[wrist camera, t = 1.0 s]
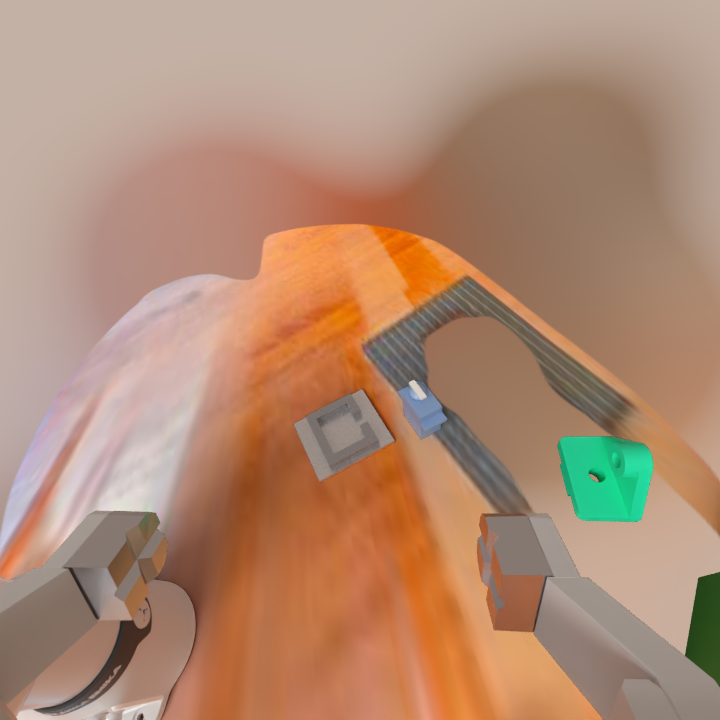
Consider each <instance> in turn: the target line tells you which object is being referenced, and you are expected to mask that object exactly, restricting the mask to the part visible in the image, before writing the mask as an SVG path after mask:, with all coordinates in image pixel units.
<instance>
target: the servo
mask: <svg viewBox="0 0 720 720" xmlns="http://www.w3.org/2000/svg"><path fill="white" fill-rule="evenodd" d="M409 385H410V386H408V387H406V388H404V389H402V390H400V391H398V394H399V395H400V397H401V398H402V400H403V411H404V416H405V418H406V419H407V421H408V422H409V423H410V425H411V426H412V428H413V429H414V431H415V432H416V434H417V435H418V437H419V438H420V440H421V439H423V438H425V437H427V436H429V435H431V434H432V433H434V432H436V431H438V430H440V429H441V424H442V423H444V422H446V421H447V418H446V417H445V415H444V414H443V413H442V406H441V404H440V403H439V402H438V401H437V399H436V398H435V397H434V395H433V394H432V393H431V391H430V390H429V389H428V388H427V386H426V385H425V384H424V382H422V383H420V382H419V381H417V382H416V381H415V380H413V381H411V382H409Z"/></svg>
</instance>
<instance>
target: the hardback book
mask: <svg viewBox="0 0 720 720" xmlns="http://www.w3.org/2000/svg"><path fill="white" fill-rule="evenodd" d="M685 657H687V658H688V659H689V660H690V661H692V662H693V663H694V664H695V665H697V666H698V667H699V668H700V669H702V670H703V671H704V672H705V673H706V674H708V675H709V676H710V677H711V678H713V679H714V680H715V681H716V683H717V684H718V686H719V687H720V572H718V573H715V574H711V575H707V576H703V577H699V578H698V583H697V589H696V595H695V601H694V607H693V612H692V618H691V624H690V630H689V636H688V642H687V647H686V653H685Z"/></svg>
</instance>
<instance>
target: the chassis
mask: <svg viewBox="0 0 720 720" xmlns="http://www.w3.org/2000/svg"><path fill="white" fill-rule="evenodd" d="M305 417H306V418H304V419H302V420H300V421H298V422H296V423H294V426H295V429H296V431H297V433H298V435H299V437H300V440H301V442H302V444H303V446H304V449H305V451H306V453H307V455H308V457H309V460H310V462H311V464H312V466H313V468H314V471H315V473H316V475H317V477H318V479H319V482H320V483H322V482H323V481H325V480H327V479H329V478H331V477H333V476H334V475H336V474H338V473H340V472H342V471H344V470H346V469H347V468H349V467H351V466H353V465H355V464H357V463H358V462H360V461H362V460H364V459H366V458H368V457H369V456H371V455H373V454H375V453H377V452H379V451H380V450H382V449H384V448H386V447H388V446H390V445H392V444H393V443H395V440H394V439H393V437H392V436H391V434H390V432H389V431H388V429H387V428H386V426H385V425H384V423H383V421H382V420H381V418H380V417H379V415H378V413H377V412H376V410H375V409H374V407H373V405H372V404H371V402H370V401H369V399H368V398H367V396H366V394H365V393H364V391H363V390H360V391H358V392H356V393H354V394H352V395H351V393H350V394H348V395H346V396H344V397H342V398H340V399H338V400H336V401H334V402H332V403H330V404H328V405H326V406H324V407H322V408H320V409H319V410H317V411H315V412H313V413H311V414H309V415H307V416H305Z"/></svg>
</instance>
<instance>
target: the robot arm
mask: <svg viewBox="0 0 720 720" xmlns="http://www.w3.org/2000/svg"><path fill="white" fill-rule="evenodd" d="M159 524H160V521H159V519H158V517H157V514H156V513H152V512H130V511H94V512H93V513H91V514H89V515H88V516H87V517H86V518H85V519H84V520H83V521H82V522H81V523H80V525H79V526H78V527H77V528H76V529H75V530H74V531H73V532H72V534H71V535H70V536H69V537H68V538H67V539H66V540H65V541H64V543H63V544H62V545H61V546H60V547H59V548H58V549H57V551H56V552H55V553H54V554H53V555H52V556H51V557H50V558H49V560H48V561H47V562H46V563H45V564H44V565H43V566H42V567H41V568H34V569H32V570H31V571H29V572H27V573H24V574H21V575H19V576H17V577H15V578H13V579H11V580H9V579H5V578H2V577H0V720H140V717H141V715H142V714H143V715H144V718H143V720H160V719H161V717H162V715H163V712H164V710H165V707H166V703H167V700H168V697H169V693H170V691H171V689H172V687H173V686H174V684H175V682H176V681H177V679H178V678H179V676H180V674H181V673H182V671H183V669H184V667H185V665H186V663H187V661H188V658H189V656H190V653H191V650H192V646H193V642H194V637H195V628H196V620H195V612H194V608H193V604H192V602H191V600H190V598H189V596H188V595H187V593H186V592H185V591H184V590H183V589H182V588H181V587H180V586H178V585H176V584H174V583H172V582H168V581H161V580H156V579H154V578H155V577H157V576H158V575H159V573H160V571H161V569H162V568H163V566H164V564H165V560H166V556H167V552H168V546H167V540H166V537H165V535H164V534H163V533H161V532H160V531H159V530H158V529H157V527H158V526H159ZM479 526H480V530H481V533H482V535H481V536H480V537H479V538H478V543H477V557H478V565H479V571H480V576H481V580H482V582H483V583H484V584H485V585H486V586H487V587H488V591H487V599H486V600H487V604H488V608H489V612H490V616H491V620H492V624H493V628H494V630H501V631H518V632H534V635H535V637H536V638H537V639H538V640H539V642H540V643H541V644H542V645H543V646H544V648H545V649H546V650H547V651H548V653H549V654H550V655H551V656H552V657H553V659H554V660H555V661H556V662H557V664H558V665H559V666H560V667H561V668H562V670H563V671H564V672H565V673H566V674H567V676H568V677H569V678H570V679H571V681H572V682H573V683H574V684H575V685H576V687H577V688H578V689H579V690H580V692H581V693H582V694H583V695H584V696H585V698H586V699H587V700H588V701H589V703H590V704H591V705H592V706H593V707H594V709H595V710H596V711H597V712H598V713H599V715H600V716H601V717H602V718H603V720H720V687H719V686H718V684H717V683H716V681H715V680H714V679H713V678H711V677H710V676H709V675H708V674H706V673H705V672H704V671H703V670H702V669H700V668H699V667H698V666H697V665H695V664H694V663H693V662H692V661H690V660H689V659H688V658H687V657H685V656H684V655H683V654H682V653H680V652H679V651H678V650H677V649H676V648H674V647H673V646H672V645H671V644H669V643H668V642H667V641H666V640H665V639H663V638H662V637H661V636H659V635H658V634H657V633H656V632H654V631H653V630H652V629H651V628H650V627H648V626H647V625H646V624H645V623H643V622H642V621H641V620H640V619H639V618H637V617H636V616H635V615H634V614H632V613H631V612H630V611H629V610H627V609H626V608H625V607H624V606H623V605H621V604H620V603H619V602H617V601H616V600H615V599H614V598H613V597H611V596H610V595H609V594H608V593H606V592H605V591H604V590H603V589H601V588H600V587H599V586H598V585H597V584H595V583H594V582H593V581H592V580H591V579H589V578H585V577H581V576H580V574H579V572H578V570H577V568H576V566H575V564H574V562H573V560H572V558H571V556H570V554H569V552H568V550H567V548H566V546H565V544H564V542H563V541H562V538H561V537H560V534H559V532H558V530H557V529H556V527H555V525H554V523H553V521H552V518H551V517H550V516H549V515H548V514H523V513H502V514H482V515H481V517H480V524H479Z"/></svg>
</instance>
